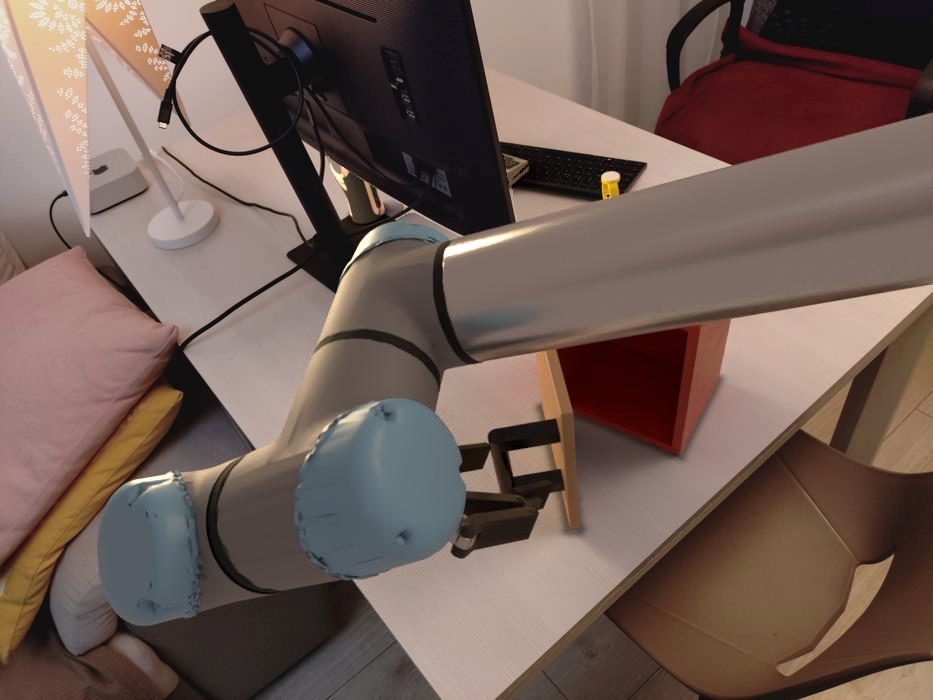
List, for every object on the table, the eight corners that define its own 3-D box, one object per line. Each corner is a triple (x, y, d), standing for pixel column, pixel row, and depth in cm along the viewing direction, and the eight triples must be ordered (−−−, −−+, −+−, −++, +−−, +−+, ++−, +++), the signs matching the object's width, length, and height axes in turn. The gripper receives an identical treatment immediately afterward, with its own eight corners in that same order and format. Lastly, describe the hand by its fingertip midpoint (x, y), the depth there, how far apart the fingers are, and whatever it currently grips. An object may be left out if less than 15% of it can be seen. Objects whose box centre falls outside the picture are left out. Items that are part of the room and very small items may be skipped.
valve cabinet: (679, 455, 68) (700, 327, 54) (549, 402, 76) (536, 277, 61) (718, 379, 74) (746, 245, 60) (594, 337, 82) (592, 208, 67)
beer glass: (354, 230, 107) (326, 151, 96) (344, 210, 111) (316, 132, 100) (392, 216, 108) (368, 136, 97) (380, 197, 112) (356, 118, 101)
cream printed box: (530, 170, 110) (528, 153, 108) (502, 194, 107) (500, 177, 104) (463, 150, 119) (460, 134, 116) (435, 172, 115) (431, 156, 113)
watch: (623, 218, 97) (624, 185, 93) (605, 221, 97) (606, 188, 93) (614, 197, 101) (615, 164, 97) (597, 200, 102) (597, 167, 97)
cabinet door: (509, 539, 65) (482, 428, 50) (490, 415, 76) (464, 296, 61) (579, 527, 64) (573, 412, 50) (550, 405, 75) (538, 282, 61)
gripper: (251, 484, 50) (430, 459, 69) (428, 645, 39) (583, 563, 58) (278, 399, 49) (453, 397, 68) (469, 541, 38) (615, 492, 57)
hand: (513, 474), depth 63 cm, fingers open, 7 cm apart
